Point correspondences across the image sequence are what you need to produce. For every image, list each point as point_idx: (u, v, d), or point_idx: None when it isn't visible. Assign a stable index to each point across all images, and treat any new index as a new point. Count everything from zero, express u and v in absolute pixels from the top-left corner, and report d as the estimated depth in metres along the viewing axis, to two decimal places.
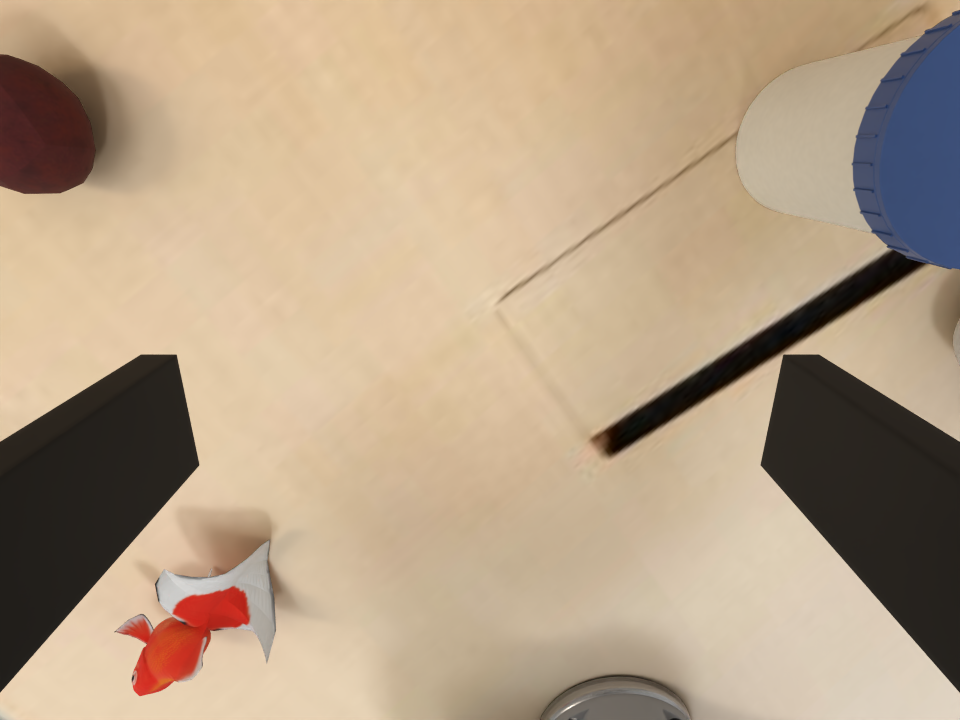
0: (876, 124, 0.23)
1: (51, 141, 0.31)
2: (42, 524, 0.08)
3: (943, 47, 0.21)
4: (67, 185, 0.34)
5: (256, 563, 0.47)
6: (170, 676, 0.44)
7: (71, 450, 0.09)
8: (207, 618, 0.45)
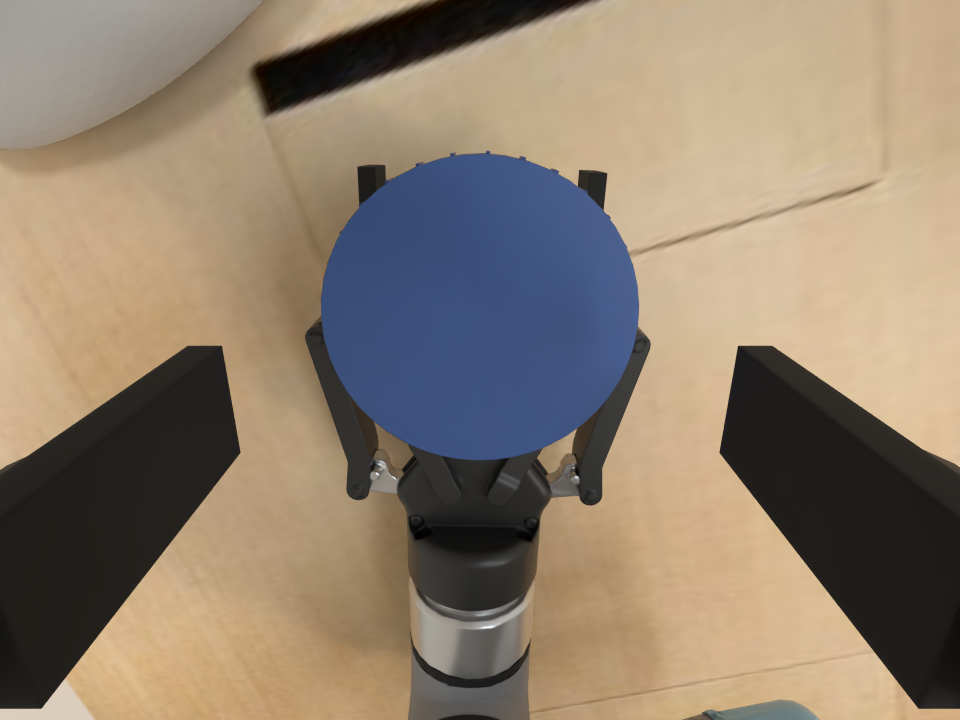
0: None
1: None
2: (114, 502, 0.09)
3: (550, 437, 0.20)
4: None
5: None
6: None
7: (137, 433, 0.09)
8: None
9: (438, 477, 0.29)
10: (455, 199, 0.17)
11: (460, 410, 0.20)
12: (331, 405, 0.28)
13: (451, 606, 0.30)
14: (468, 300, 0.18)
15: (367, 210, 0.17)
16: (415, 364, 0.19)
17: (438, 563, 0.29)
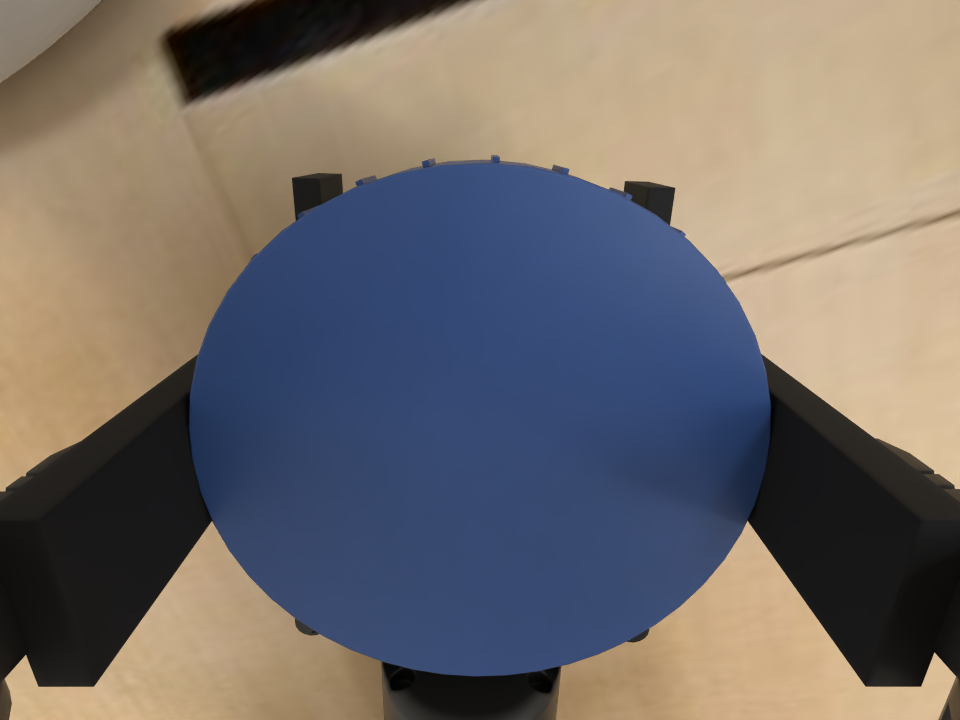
0: None
1: None
2: (155, 490, 0.09)
3: (600, 643, 0.12)
4: None
5: None
6: None
7: (175, 424, 0.10)
8: None
9: None
10: (432, 249, 0.09)
11: (446, 603, 0.11)
12: None
13: None
14: (458, 430, 0.10)
15: (262, 271, 0.09)
16: (365, 533, 0.11)
17: None
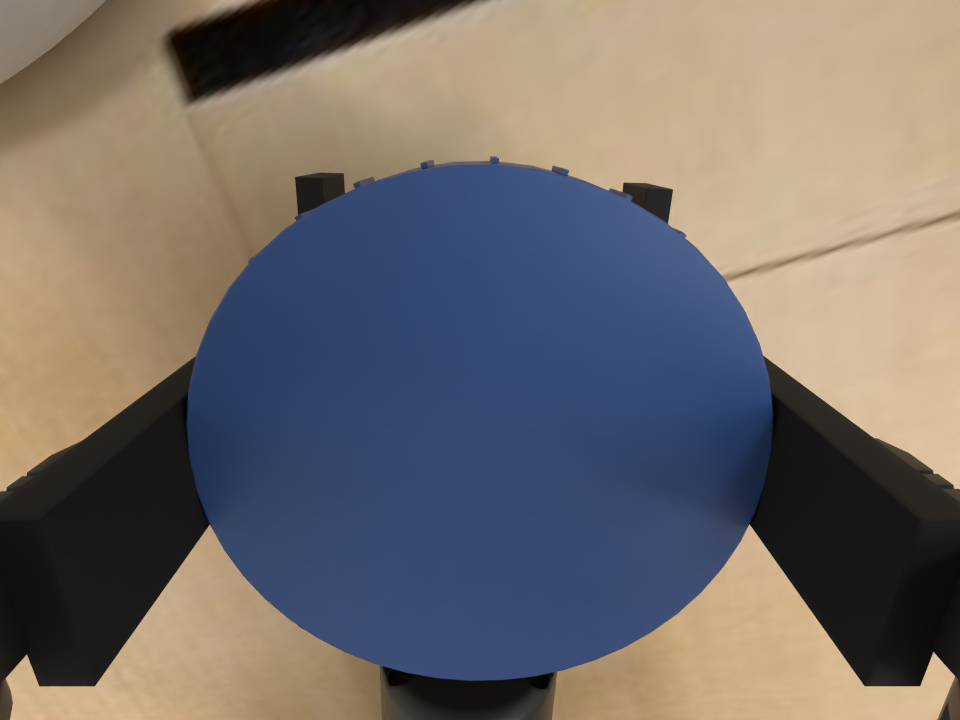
0: None
1: None
2: (156, 490, 0.09)
3: (726, 311, 0.09)
4: None
5: None
6: None
7: (176, 424, 0.10)
8: None
9: None
10: (274, 524, 0.11)
11: (658, 485, 0.10)
12: None
13: None
14: (440, 491, 0.10)
15: (323, 631, 0.12)
16: (567, 560, 0.11)
17: None
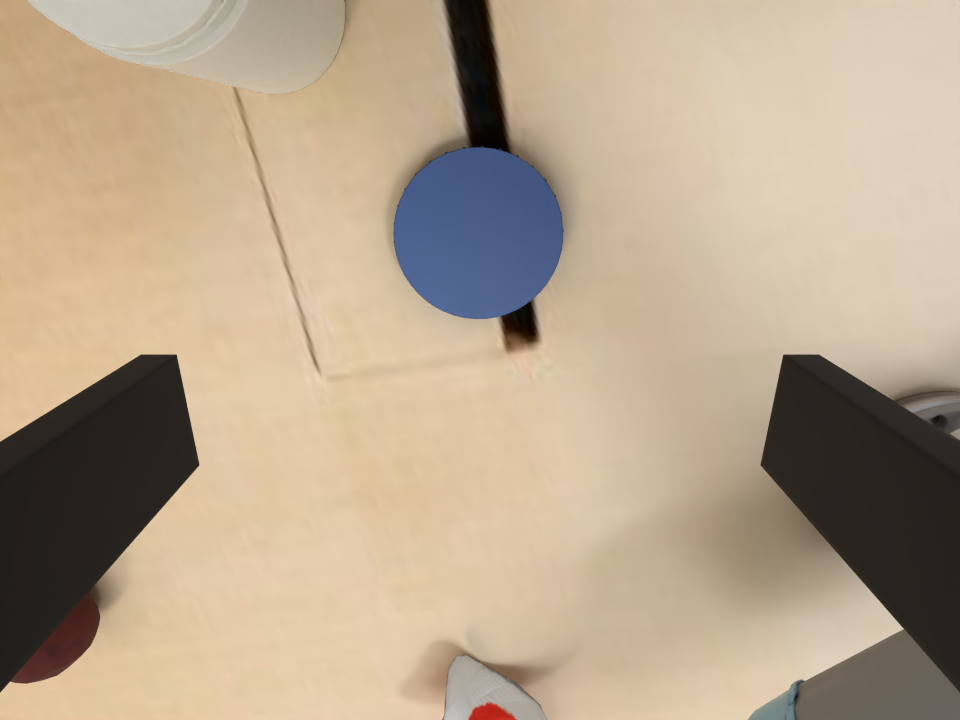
0: None
1: None
2: (42, 524, 0.08)
3: (544, 187, 0.34)
4: (85, 628, 0.43)
5: (474, 676, 0.49)
6: None
7: (71, 450, 0.09)
8: None
9: None
10: (416, 256, 0.35)
11: (531, 243, 0.35)
12: None
13: None
14: (466, 245, 0.35)
15: (428, 298, 0.36)
16: (505, 270, 0.35)
17: None
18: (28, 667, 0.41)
